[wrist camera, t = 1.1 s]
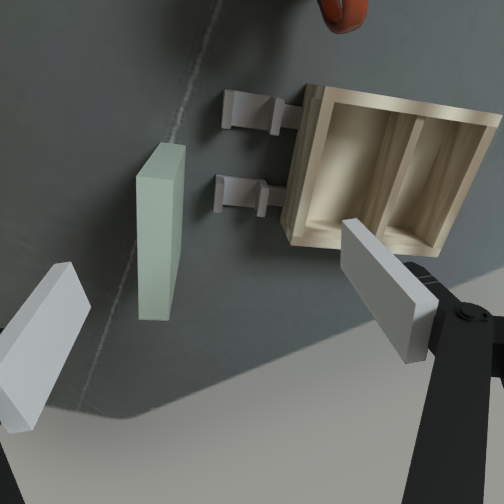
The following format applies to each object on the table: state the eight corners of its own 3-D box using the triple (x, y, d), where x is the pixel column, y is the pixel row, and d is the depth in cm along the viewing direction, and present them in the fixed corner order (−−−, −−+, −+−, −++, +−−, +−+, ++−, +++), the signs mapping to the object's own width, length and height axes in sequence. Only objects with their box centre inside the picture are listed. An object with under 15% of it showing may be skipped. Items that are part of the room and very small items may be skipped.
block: (153, 250, 38) (131, 319, 27) (154, 141, 32) (126, 175, 22) (180, 252, 38) (168, 320, 28) (185, 145, 33) (173, 180, 22)
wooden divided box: (212, 214, 36) (212, 238, 31) (225, 70, 30) (228, 70, 25) (408, 232, 40) (437, 257, 35) (457, 108, 34) (502, 115, 28)
